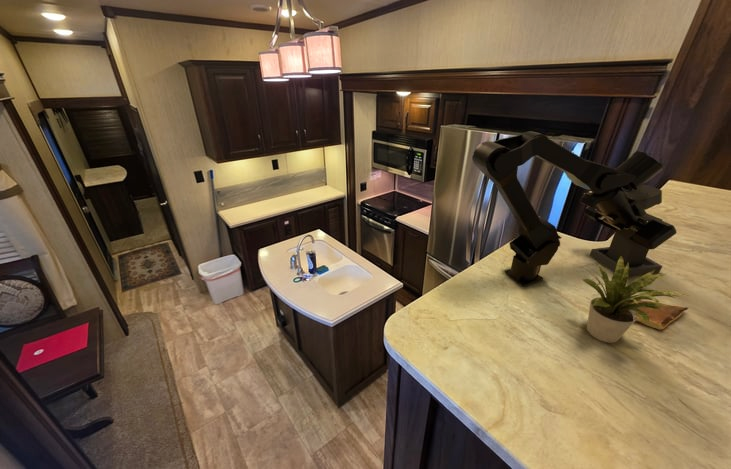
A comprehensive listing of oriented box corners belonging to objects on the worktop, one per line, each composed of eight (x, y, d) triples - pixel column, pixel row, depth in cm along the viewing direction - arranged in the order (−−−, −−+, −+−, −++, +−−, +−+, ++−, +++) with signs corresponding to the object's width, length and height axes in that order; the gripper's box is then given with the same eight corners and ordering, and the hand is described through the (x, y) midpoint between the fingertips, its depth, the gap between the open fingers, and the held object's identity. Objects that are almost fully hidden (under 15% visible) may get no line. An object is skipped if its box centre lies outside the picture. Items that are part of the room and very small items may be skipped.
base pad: (622, 278, 72) (625, 270, 71) (589, 255, 81) (591, 248, 80) (659, 273, 73) (662, 266, 72) (622, 251, 82) (625, 244, 81)
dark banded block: (623, 267, 74) (642, 221, 68) (605, 256, 79) (621, 212, 73) (642, 265, 74) (663, 219, 68) (623, 254, 79) (640, 210, 73)
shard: (685, 312, 61) (689, 306, 60) (705, 340, 55) (710, 333, 54) (621, 302, 65) (624, 295, 64) (634, 326, 59) (637, 320, 58)
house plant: (617, 380, 49) (658, 309, 41) (544, 325, 61) (565, 261, 53) (665, 348, 54) (709, 279, 46) (589, 303, 65) (614, 241, 57)
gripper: (690, 191, 57) (712, 233, 63) (609, 166, 73) (633, 202, 79) (637, 230, 60) (663, 267, 66) (571, 198, 76) (597, 230, 82)
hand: (637, 238), depth 73 cm, fingers closed on dark banded block, 5 cm apart
